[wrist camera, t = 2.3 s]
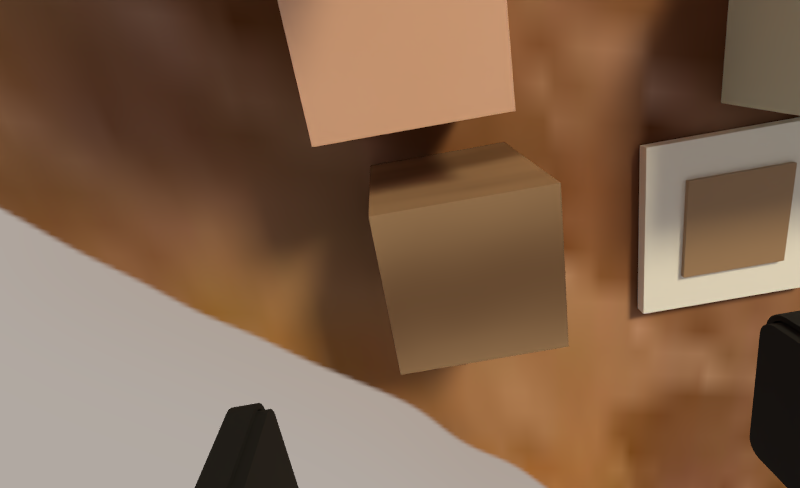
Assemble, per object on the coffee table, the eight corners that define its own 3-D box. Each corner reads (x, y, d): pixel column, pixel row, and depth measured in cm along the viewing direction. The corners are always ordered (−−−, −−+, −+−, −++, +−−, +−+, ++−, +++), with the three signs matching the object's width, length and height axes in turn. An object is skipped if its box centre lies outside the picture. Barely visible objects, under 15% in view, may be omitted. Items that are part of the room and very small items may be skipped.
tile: (639, 145, 18) (649, 148, 18) (827, 111, 18) (844, 114, 18) (637, 307, 21) (645, 316, 20) (802, 280, 21) (816, 287, 20)
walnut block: (370, 165, 18) (368, 216, 13) (503, 141, 18) (561, 182, 13) (393, 284, 20) (401, 375, 15) (514, 263, 20) (568, 346, 14)
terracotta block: (298, -43, 16) (255, -93, 10) (453, -72, 16) (495, -138, 10) (332, 116, 18) (312, 147, 12) (470, 90, 17) (515, 110, 12)
